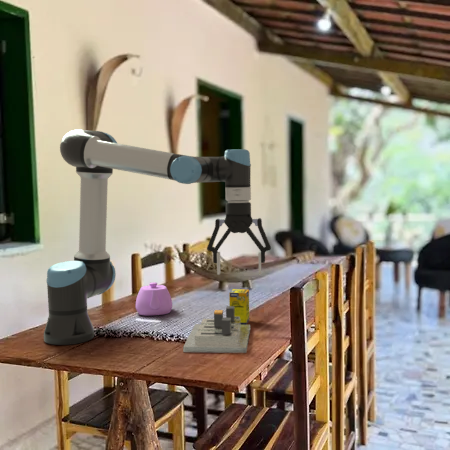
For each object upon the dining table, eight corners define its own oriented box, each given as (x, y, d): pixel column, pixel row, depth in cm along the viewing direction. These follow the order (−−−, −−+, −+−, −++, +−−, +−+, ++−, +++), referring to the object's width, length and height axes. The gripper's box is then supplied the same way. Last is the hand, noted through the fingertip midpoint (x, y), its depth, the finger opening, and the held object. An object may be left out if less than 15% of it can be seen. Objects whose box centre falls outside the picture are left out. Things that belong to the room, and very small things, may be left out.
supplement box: (247, 325, 190) (246, 292, 189) (229, 324, 192) (228, 292, 190) (249, 320, 196) (249, 289, 195) (232, 319, 197) (232, 288, 196)
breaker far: (226, 321, 179) (226, 308, 179) (227, 318, 182) (226, 306, 182) (233, 321, 179) (233, 308, 179) (234, 318, 182) (234, 306, 182)
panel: (183, 352, 163) (183, 338, 163) (195, 328, 187) (195, 316, 187) (246, 353, 162) (246, 338, 161) (250, 329, 186) (250, 316, 185)
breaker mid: (214, 327, 173) (213, 312, 172) (215, 324, 176) (215, 310, 175) (222, 327, 172) (221, 312, 172) (223, 324, 175) (222, 310, 175)
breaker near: (221, 333, 165) (221, 320, 165) (222, 330, 168) (222, 317, 168) (230, 334, 165) (229, 320, 165) (231, 331, 168) (230, 317, 168)
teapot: (136, 321, 198) (135, 289, 197) (134, 307, 217) (133, 278, 216) (175, 318, 200) (174, 287, 199) (170, 305, 220) (169, 277, 219)
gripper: (196, 202, 167) (198, 276, 169) (278, 201, 165) (279, 276, 167) (199, 201, 175) (201, 271, 177) (278, 200, 173) (279, 271, 175)
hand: (239, 273), depth 172 cm, fingers open, 12 cm apart
